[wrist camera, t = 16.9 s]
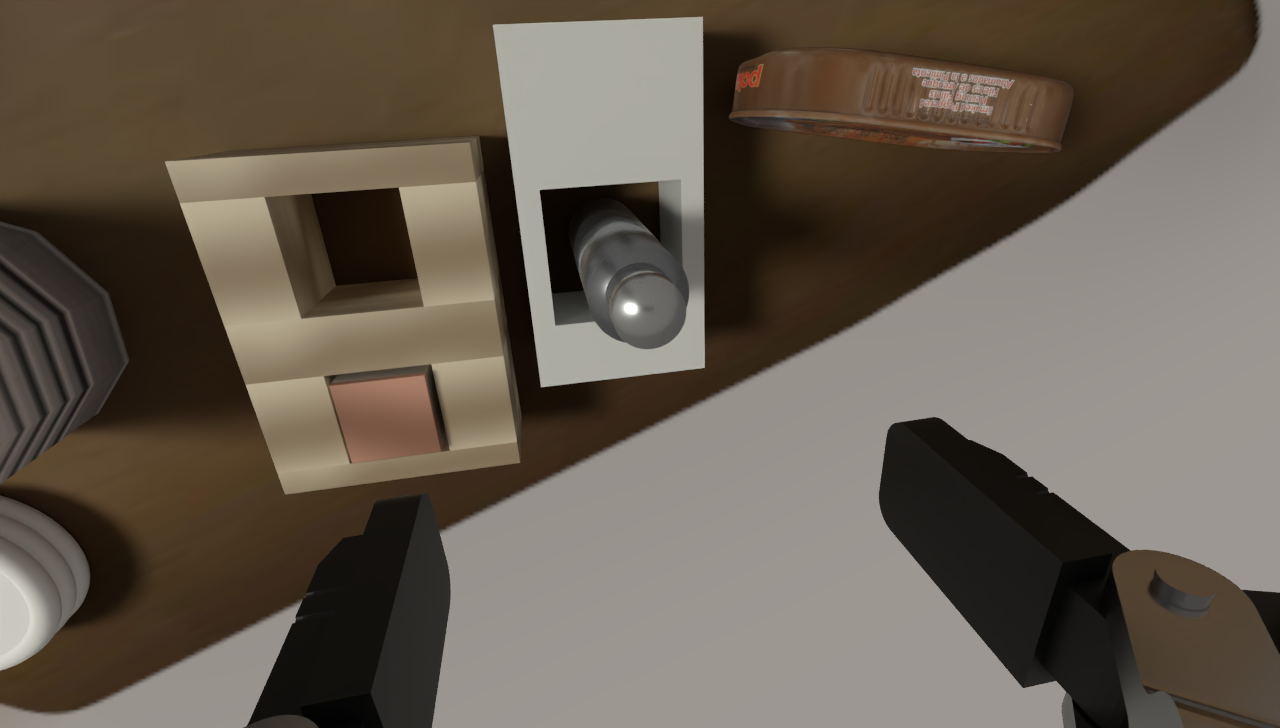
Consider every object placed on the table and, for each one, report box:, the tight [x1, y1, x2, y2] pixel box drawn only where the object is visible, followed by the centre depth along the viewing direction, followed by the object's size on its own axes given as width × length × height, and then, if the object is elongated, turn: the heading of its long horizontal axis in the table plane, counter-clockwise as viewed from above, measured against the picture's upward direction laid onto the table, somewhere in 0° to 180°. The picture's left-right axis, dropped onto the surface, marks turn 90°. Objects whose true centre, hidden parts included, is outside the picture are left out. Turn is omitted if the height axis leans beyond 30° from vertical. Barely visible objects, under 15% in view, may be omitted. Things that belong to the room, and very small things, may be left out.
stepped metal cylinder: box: [569, 198, 689, 349], centre depth 25 cm, size 4×4×13 cm
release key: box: [329, 364, 446, 463], centre depth 29 cm, size 4×4×4 cm
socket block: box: [165, 136, 521, 494], centre depth 28 cm, size 15×11×5 cm
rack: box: [493, 17, 705, 387], centre depth 28 cm, size 15×8×5 cm, turn 3°
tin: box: [729, 47, 1074, 153], centre depth 27 cm, size 15×3×8 cm, turn 84°
